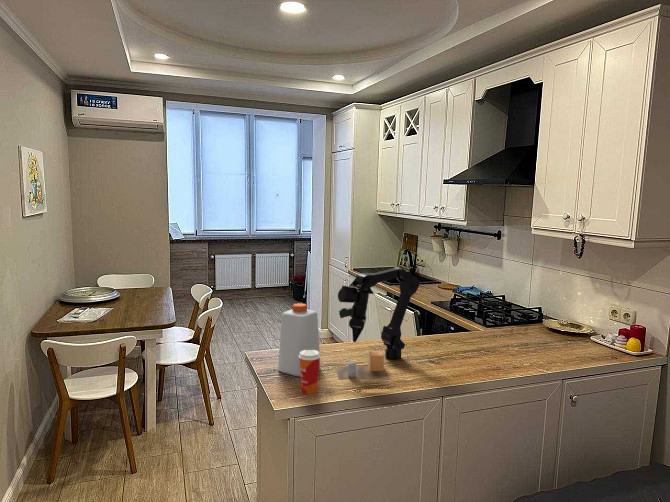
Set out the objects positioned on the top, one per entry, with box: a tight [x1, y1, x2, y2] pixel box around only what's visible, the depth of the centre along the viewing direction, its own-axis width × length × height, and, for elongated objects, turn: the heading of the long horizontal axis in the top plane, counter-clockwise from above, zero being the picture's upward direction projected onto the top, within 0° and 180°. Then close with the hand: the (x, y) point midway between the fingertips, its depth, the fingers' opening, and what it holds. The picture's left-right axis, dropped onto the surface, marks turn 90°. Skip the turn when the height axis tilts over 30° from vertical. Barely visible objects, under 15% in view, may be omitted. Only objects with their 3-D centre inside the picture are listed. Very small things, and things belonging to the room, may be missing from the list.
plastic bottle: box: [277, 302, 321, 378], centre depth 194 cm, size 15×15×28 cm
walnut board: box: [335, 365, 389, 381], centre depth 191 cm, size 20×14×1 cm
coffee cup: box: [299, 350, 321, 396], centre depth 174 cm, size 8×8×15 cm
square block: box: [367, 350, 385, 371], centre depth 195 cm, size 6×6×7 cm
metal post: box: [347, 361, 357, 378], centre depth 186 cm, size 3×3×6 cm
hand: (355, 339), depth 196 cm, fingers open, 9 cm apart
